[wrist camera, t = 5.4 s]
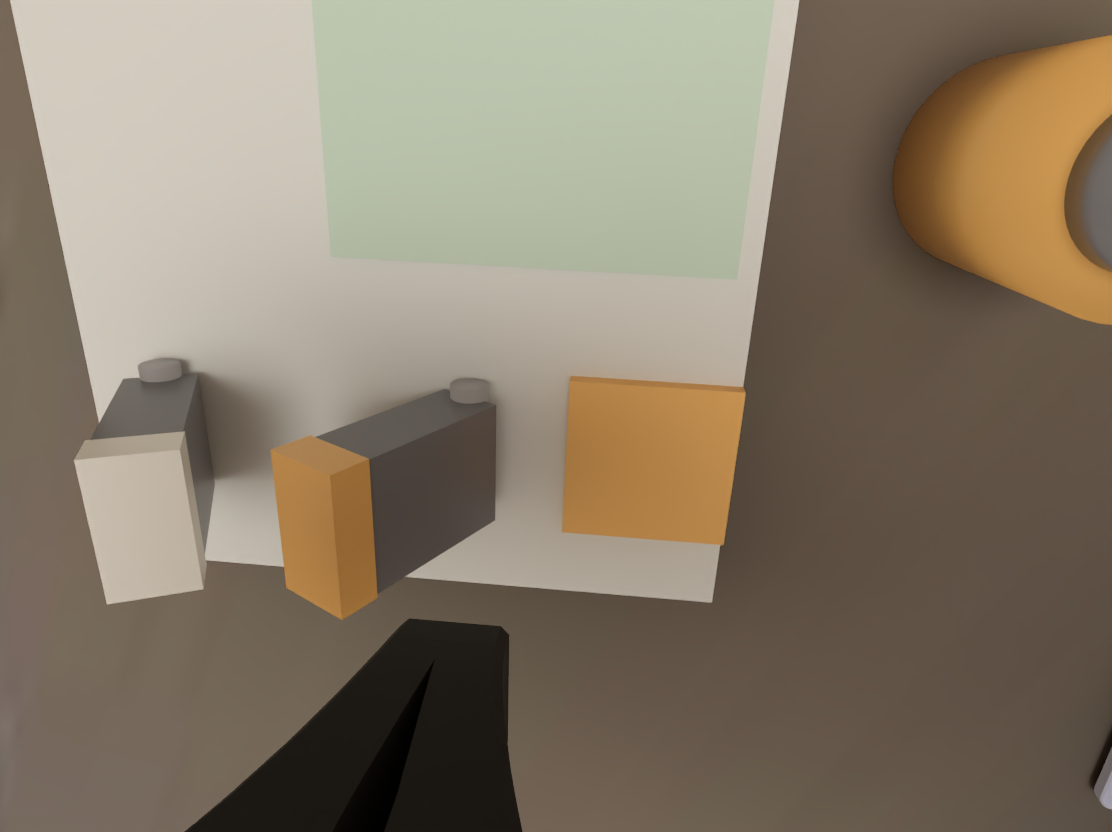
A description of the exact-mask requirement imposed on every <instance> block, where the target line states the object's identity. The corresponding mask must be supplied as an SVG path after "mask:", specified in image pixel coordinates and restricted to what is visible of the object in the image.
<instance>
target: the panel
mask: <svg viewBox="0 0 1112 832" xmlns="http://www.w3.org/2000/svg"><path fill="white" fill-rule="evenodd" d="M10 2H11V6H12V11H13V16H14V21H15V25H16V30H17V35H18V40H19V44H20V49H21V54H22V59H23V63H24V68H25V73H26V78H27V82H28V87H29V92H30V97H31V101H32V106H33V111H34V116H35V120H36V125H37V130H38V135H39V139H40V144H41V149H42V153H43V158H44V163H45V168H46V172H47V177H48V182H49V187H50V191H51V196H52V201H53V206H54V210H55V215H56V220H57V225H58V229H59V234H60V239H61V244H62V248H63V253H64V258H65V263H66V267H67V272H68V277H69V282H70V286H71V291H72V296H73V301H74V305H75V310H76V315H77V320H78V324H79V329H80V334H81V339H82V343H83V348H84V353H85V358H86V362H87V367H88V372H89V377H90V381H91V386H92V391H93V396H94V400H95V405H96V410H97V415H98V419H99V422H100V421H101V419H102V417H103V415H104V413H105V411H106V409H107V408H108V406H109V404H110V402H111V400H112V398H113V397H114V395H115V393H116V391H117V389H118V387H119V385H120V384H121V382H122V380H123V379H126V378H140V377H139V371H138V365H139V364H140V363H142V362H145V361H148V360H153V359H164V358H168V359H176V360H179V361H180V363H181V369H182V375H186V374H198V376H199V382H200V389H201V395H202V402H203V409H204V415H205V422H206V428H207V435H208V442H209V448H210V455H211V461H212V468H213V475H214V481H215V487H214V494H213V501H212V508H211V515H210V522H209V530H208V537H207V544H206V551H205V558H206V560H211V561H223V562H235V563H246V564H258V565H270V566H282V567H284V562H283V554H282V545H281V537H280V528H279V520H278V511H277V503H276V494H275V486H274V477H273V469H272V460H271V452H270V450H271V449H274V448H277V447H279V446H282V445H285V444H287V443H290V442H293V441H296V440H298V439H301V438H304V437H307V436H309V435H311V436H313V437H316V436H319V435H322V434H324V433H327V432H330V431H333V430H335V429H338V428H341V427H343V426H346V425H349V424H351V423H354V422H357V421H359V420H362V419H365V418H368V417H370V416H373V415H376V414H378V413H381V412H384V411H386V410H389V409H392V408H394V407H397V406H400V405H402V404H405V403H408V402H411V401H413V400H416V399H419V398H421V397H424V396H427V395H429V394H432V393H435V392H437V391H440V390H443V389H446V390H449V391H450V383H451V382H452V381H455V380H458V379H463V378H476V379H481V380H484V381H487V382H488V383H489V403H492V404H495V405H496V492H495V521H493V522H492V523H490V524H488V525H487V526H485V527H484V528H482V529H480V530H479V531H477V532H476V533H474V534H472V535H471V536H469V537H468V538H466V539H464V540H463V541H461V542H460V543H458V544H456V545H455V546H453V547H452V548H450V549H448V550H447V551H445V552H444V553H442V554H440V555H439V556H437V557H436V558H434V559H432V560H431V561H429V562H428V563H426V564H424V565H423V566H421V567H420V568H418V569H416V570H415V571H413V572H412V573H410V574H408V575H407V576H405V577H413V578H425V579H437V580H449V581H461V582H473V583H484V584H496V585H508V586H520V587H532V588H544V589H556V590H568V591H580V592H592V593H603V594H615V595H627V596H639V597H651V598H663V599H675V600H687V601H699V602H710V603H712V598H713V591H714V584H715V578H716V571H717V564H718V557H719V550H720V545H724V538H725V532H726V525H727V518H728V511H729V504H730V498H731V491H732V484H733V477H734V470H735V464H736V457H737V450H738V443H739V436H740V430H741V423H742V416H743V409H744V402H745V396H746V392H745V390H744V388H743V385H744V378H745V371H746V364H747V357H748V350H749V343H750V336H751V329H752V323H753V316H754V309H755V302H756V295H757V288H758V281H759V274H760V267H761V261H762V254H763V247H764V240H765V233H766V226H767V219H768V212H769V205H770V199H771V192H772V185H773V178H774V171H775V164H776V157H777V150H778V143H779V136H780V130H781V123H782V116H783V109H784V102H785V95H786V88H787V81H788V74H789V68H790V61H791V54H792V47H793V40H794V33H795V26H796V19H797V12H798V6H799V0H10Z"/></svg>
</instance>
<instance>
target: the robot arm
mask: <svg viewBox="0 0 1112 832" xmlns="http://www.w3.org/2000/svg"><path fill="white" fill-rule="evenodd" d="M508 676H509V634H508V633H507V632H506V631H505V630H504V629H503V628H502V627H501V626H490V625H478V624H467V623H455V622H443V621H431V620H419V619H408V620H407V621H406V622H404V623H403V624H402V625H401V626H400V627H399V628H398V629H397V630H396V631H395V632H394V633H393V635H392V636H391V637H390V638H389V639H388V640H387V641H386V642H385V643H384V644H383V645H382V646H381V648H380V649H379V650H378V651H377V652H376V653H375V654H374V655H373V656H372V657H371V658H370V659H369V660H368V662H367V663H366V664H365V665H364V666H363V667H362V668H361V669H360V670H359V671H358V672H357V673H356V674H355V675H354V676H353V677H352V678H351V679H350V680H349V681H348V683H347V684H346V685H345V686H344V687H343V688H342V689H341V690H340V691H339V692H338V693H337V694H336V695H335V696H334V697H333V698H332V699H331V700H330V701H329V702H328V703H327V704H326V705H325V706H324V707H323V708H322V709H321V710H320V711H319V712H318V713H317V714H316V715H315V716H314V717H313V718H312V719H311V720H310V721H309V722H308V723H307V724H306V725H304V726H303V727H302V728H301V729H300V730H299V731H298V732H297V733H296V734H295V735H294V736H293V737H292V738H291V739H290V740H289V741H288V742H287V743H286V744H285V745H284V746H283V747H281V748H280V749H279V750H278V751H277V752H276V753H275V754H274V755H273V756H271V757H270V758H269V759H268V760H267V761H266V762H265V763H264V764H263V765H261V766H260V767H259V768H258V769H257V770H256V771H255V772H254V773H253V774H251V775H250V776H249V777H248V778H247V779H246V780H245V781H244V782H243V783H241V784H240V785H239V786H238V787H237V788H236V789H235V790H234V791H233V792H231V793H230V794H229V795H228V796H227V797H226V798H224V799H223V800H222V801H221V802H220V803H219V804H217V805H216V806H215V807H214V808H213V809H211V810H210V811H209V812H208V813H207V814H205V815H204V816H203V817H202V818H201V819H199V820H198V821H197V822H196V823H195V824H193V825H192V826H191V827H190V828H188V829H187V830H186V831H185V832H522V828H521V823H520V818H519V813H518V808H517V802H516V797H515V792H514V786H513V780H512V774H511V768H510V761H509V753H508V745H507V742H508ZM1094 793H1095V795H1096V797H1097V798H1098V800H1099V801H1100V803H1101V804H1102V805H1103V806H1104V807H1106V808H1108V809H1112V748H1111V750H1110V752H1109V754H1108V757H1107V759H1106V761H1105V764H1104V766H1103V768H1102V771H1101V773H1100V775H1099V778H1098V780H1097V782H1096V785H1095V787H1094Z"/></svg>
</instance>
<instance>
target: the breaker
mask: <svg viewBox="0 0 1112 832" xmlns="http://www.w3.org/2000/svg"><path fill="white" fill-rule="evenodd" d="M138 371H139V377H140V378H126V379H123V380H122V382H121V384H120V385H119V387H118V389H117V391H116V393H115V395H114V397H113V398H112V400H111V402H110V404H109V406H108V408H107V409H106V411H105V413H104V415H103V417H102V419H101V421H100V422H99V424H98V426H97V428H96V430H95V432H94V433H93V435H92V437H91V439H90V440H85V441H84V443H83V445H82V447H81V448H80V450H79V452H78V454H77V456H76V457H75V459H74V462H75V467H76V471H77V475H78V480H79V484H80V489H81V493H82V497H83V502H84V506H85V510H86V515H87V519H88V523H89V528H90V532H91V536H92V541H93V545H94V549H95V554H96V558H97V563H98V567H99V571H100V576H101V580H102V584H103V589H104V593H105V597H106V602H107V604H113V603H119V602H126V601H132V600H138V599H145V598H151V597H157V596H164V595H170V594H176V593H183V592H189V591H195V590H202V589H203V588H204V581H205V573H206V566H207V565H206V558H205V551H206V544H207V537H208V530H209V522H210V515H211V508H212V501H213V494H214V487H215V481H214V475H213V468H212V461H211V455H210V448H209V442H208V435H207V428H206V422H205V415H204V409H203V402H202V395H201V389H200V382H199V376H198V374H186V375H182V369H181V363H180V361H179V360H176V359H168V358H164V359H153V360H148V361H145V362H142V363H140V364H139V365H138Z"/></svg>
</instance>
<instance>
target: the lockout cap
mask: <svg viewBox="0 0 1112 832" xmlns="http://www.w3.org/2000/svg"><path fill="white" fill-rule="evenodd" d="M893 194H894V202H895V206H896V209H897V213H898V216H899V218H900V220H901V222H902V225H903V226H904V228H905V230H906V231H907V233H908V234H909V236H910V237H911V238H912V239H913V240H914V241H915V243H916V244H917V245H918V246H920V247H921V248H922V249H923V250H924V251H926V252H927V253H929V254H930V255H932V256H934V257H935V258H937V259H939V260H942V261H944V262H946V263H949V264H951V265H954V266H956V267H958V268H961V269H963V270H966V271H968V272H970V273H973V274H975V275H978V276H980V277H982V278H985V279H987V280H989V281H992V282H994V283H997V284H999V285H1001V286H1004V287H1006V288H1009V289H1011V290H1013V291H1016V292H1018V293H1021V294H1023V295H1025V296H1028V297H1030V298H1033V299H1035V300H1037V301H1040V302H1042V303H1044V304H1047V305H1049V306H1052V307H1054V308H1056V309H1059V310H1061V311H1064V312H1066V313H1068V314H1071V315H1073V316H1076V317H1078V318H1080V319H1084V320H1088V321H1091V322H1095V323H1100V324H1108V325H1112V35H1108V36H1103V37H1098V38H1093V39H1087V40H1082V41H1077V42H1071V43H1066V44H1061V45H1055V46H1050V47H1045V48H1039V49H1034V50H1029V51H1023V52H1018V53H1013V54H1008V55H1002V56H997V57H994V58H991V59H987V60H984V61H981V62H979V63H977V64H975V65H972V66H970V67H968V68H966V69H965V70H963V71H961V72H959V73H958V74H956V75H954V76H953V77H952V78H950V79H949V80H948V81H946V82H945V83H944V84H942V85H941V86H940V87H939V88H938V89H937V90H936V91H935V92H934V93H933V94H932V95H930V97H929V98H928V99H927V100H926V101H925V102H924V104H923V105H922V106H921V107H920V108H919V110H918V111H917V113H916V114H915V116H914V117H913V119H912V120H911V122H910V124H909V125H908V127H907V129H906V131H905V133H904V135H903V138H902V140H901V143H900V145H899V148H898V152H897V155H896V159H895V164H894V171H893Z"/></svg>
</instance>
